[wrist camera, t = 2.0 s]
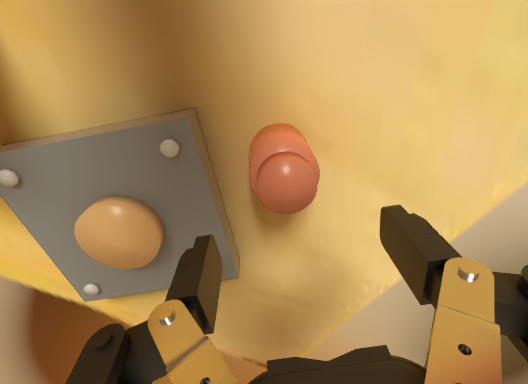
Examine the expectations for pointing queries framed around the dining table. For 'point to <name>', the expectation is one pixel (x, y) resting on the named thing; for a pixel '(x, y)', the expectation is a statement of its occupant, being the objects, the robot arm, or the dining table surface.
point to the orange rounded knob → (283, 169)
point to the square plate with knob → (119, 202)
